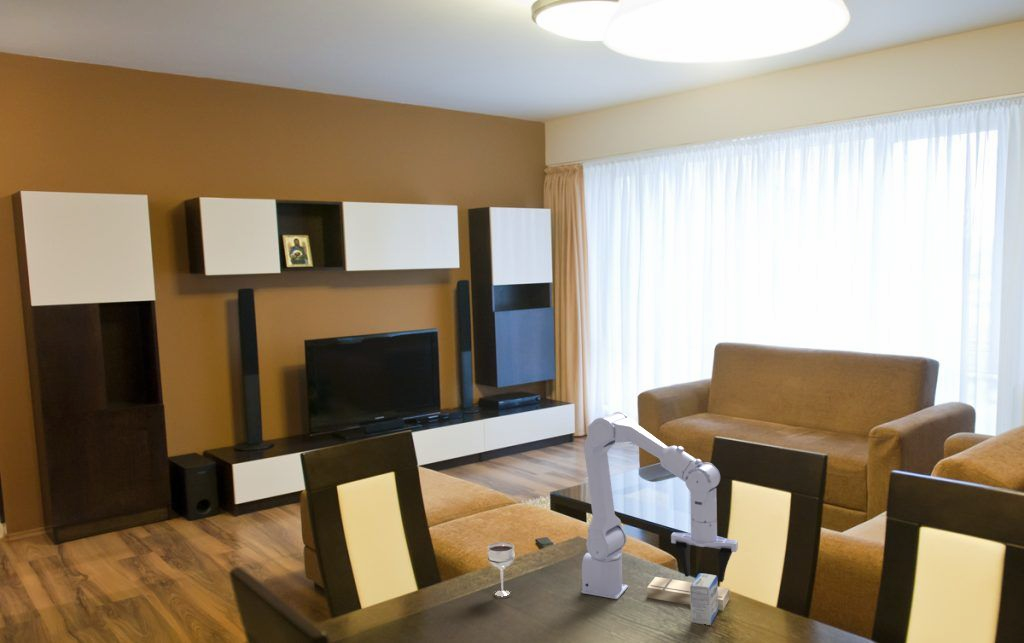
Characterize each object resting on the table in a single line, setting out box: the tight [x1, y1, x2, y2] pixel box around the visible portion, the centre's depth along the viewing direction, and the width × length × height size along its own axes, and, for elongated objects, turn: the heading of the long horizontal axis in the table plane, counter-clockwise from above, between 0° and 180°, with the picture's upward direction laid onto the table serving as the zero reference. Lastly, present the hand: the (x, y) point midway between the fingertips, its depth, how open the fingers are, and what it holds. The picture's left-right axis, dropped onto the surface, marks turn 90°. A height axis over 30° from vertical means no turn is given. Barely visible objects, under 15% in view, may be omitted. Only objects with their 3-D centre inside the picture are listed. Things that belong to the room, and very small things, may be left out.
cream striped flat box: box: [646, 576, 730, 611], centre depth 183 cm, size 18×7×3 cm, turn 63°
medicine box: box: [690, 572, 719, 626], centre depth 173 cm, size 8×4×9 cm, turn 153°
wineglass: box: [487, 541, 516, 597], centre depth 188 cm, size 7×7×12 cm
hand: (704, 577), depth 173 cm, fingers open, 7 cm apart
